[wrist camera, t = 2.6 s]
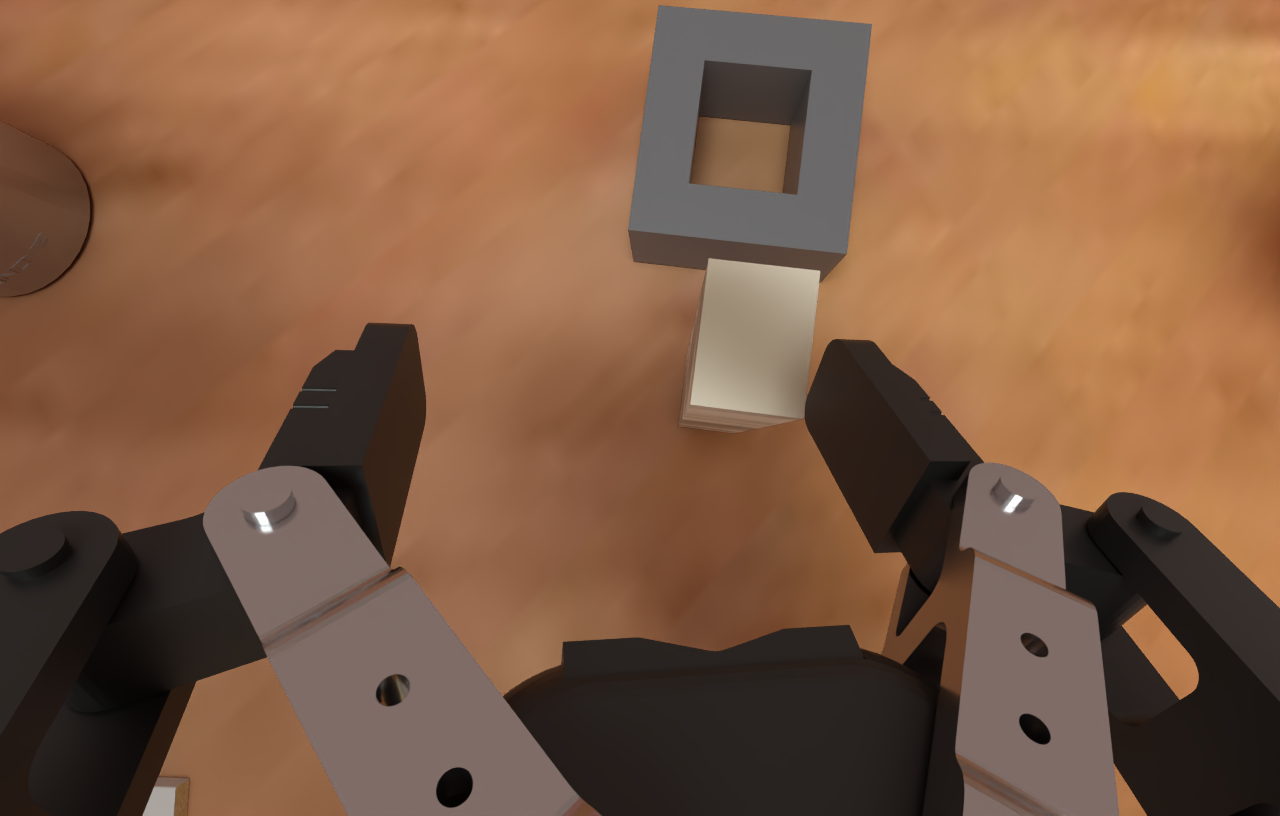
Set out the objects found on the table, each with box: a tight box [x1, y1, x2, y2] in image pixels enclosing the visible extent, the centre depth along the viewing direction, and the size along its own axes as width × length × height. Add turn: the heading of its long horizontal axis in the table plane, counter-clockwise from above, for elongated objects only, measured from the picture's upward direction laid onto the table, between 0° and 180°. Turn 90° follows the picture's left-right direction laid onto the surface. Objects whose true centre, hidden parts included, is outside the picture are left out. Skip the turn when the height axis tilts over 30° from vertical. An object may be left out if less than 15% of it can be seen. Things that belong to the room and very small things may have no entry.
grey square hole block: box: [628, 5, 872, 283], centre depth 29 cm, size 11×10×4 cm
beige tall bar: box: [678, 258, 820, 433], centre depth 23 cm, size 4×3×15 cm
